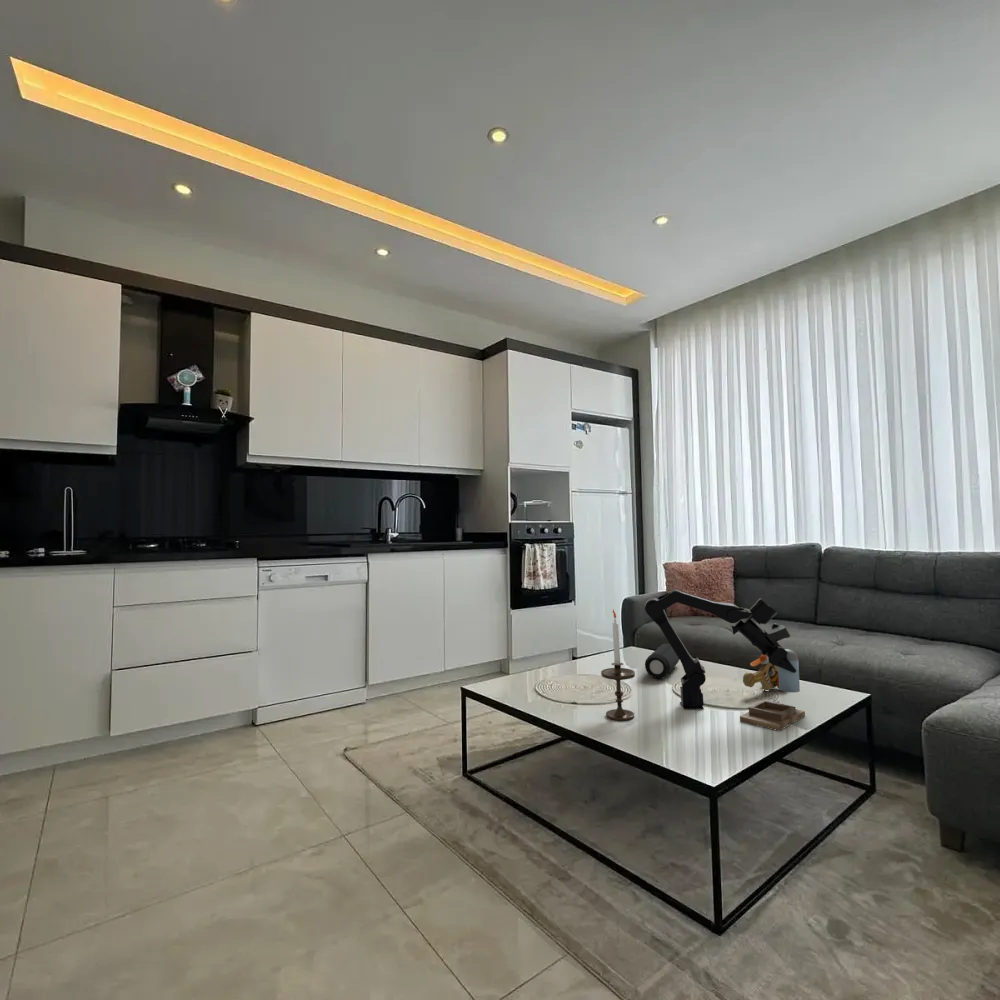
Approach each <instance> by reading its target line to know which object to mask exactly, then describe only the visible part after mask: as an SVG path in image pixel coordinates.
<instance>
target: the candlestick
mask: <svg viewBox="0 0 1000 1000" xmlns="http://www.w3.org/2000/svg"><path fill="white" fill-rule="evenodd" d="M612 613H613V618H614V619H613V622H612V636H613V643H612V644H613V658H614V662H612V663H611V666H614V667H610V668H605V669H602V670H601V671H600V673H601V674H600V676H601V677H602V678H604V679H608V680H615V684H616V685H615V686H616V691H614V695H615V697H616V699H615V702H616V703H617V704H616V705H617V707H616V708H615V709H614V708H613V709H610V710H607V711H606V713H605V715H606V716H605V717H606V719H607V720H611V721H615V722H629V721H631V720H634V719H635V713H634V712H633V711H632V710H628V709H625V708H624V709H623V705H622V703H623V702H624V700H623V699H622V697H623V695H624V692H623V691H622V689H621V688H622V686H621V681H624V680H630V679H631V680H632V679H633V678H634V677H635V675H636V672H635V671H634V670H633V669H631V668H626V667H622V666H624V663H622V662H621V651H620V649H621V647H620V632H619V629H620V628H619V623H618V621H617V614H616V611H615V610H614V608H613V609H612Z"/></svg>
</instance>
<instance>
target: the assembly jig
mask: <svg viewBox="0 0 1000 1000" xmlns="http://www.w3.org/2000/svg"><path fill="white" fill-rule="evenodd" d="M805 712H806V711H805V710H801V709H798V708H796V706H793V705H788V704H783V703H779V702H775V701H770V700H765V699H763V700H761V701H759V702H757V703H755V704H753V705H751V706H748V712H746V713H743V714H741V715H740V716H739V721H740V722H742V723H747V724H750V725H754V726H757V725H758V726H759V727H761V726H763V727H762V728H765V727H769V728H772V729H771V730H773V729H776V730H775V731H777V730H780V731H782V730H783V729H782V728H784V727H785V728H787V727H788V726H787V725H789V724H790V725H792V724H794V723H795V722H797V721H799V720H800V719H799V718H801V717H802V718H804V717H806V713H805ZM803 716H804V717H803ZM802 718H801V719H802ZM798 719H799V720H798ZM796 720H797V721H796ZM794 721H795V722H794ZM793 722H794V723H793ZM791 723H792V724H791ZM790 725H789V726H790ZM786 726H787V727H786ZM769 728H768V729H769ZM785 728H784V729H785ZM781 729H782V730H781Z"/></svg>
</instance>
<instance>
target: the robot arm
mask: <svg viewBox="0 0 1000 1000" xmlns="http://www.w3.org/2000/svg"><path fill="white" fill-rule="evenodd" d="M645 601H646V602H645V603H644V604H645V606H644V609H645V613H646V615H648V616H649V618H650V619H651V620H652V621H653V622H654V623H655V624H656V625H657V626H658V627H659V628H660V631H661V632H662V633H663V635H664V637H665V638H666V640H667V641H668V644H670V645H671V646H672V648H673V650H674V651H675V653H676V655H677V656H678V658H679V662H680V663H681V665H682V669H683V671H684V673H685V674H684V675H682V677H681V678H680V681H681V686H680V687H679V689H680V691H679V692H680V701H679V704H680V705H681V707H682V709H683V710H704V693H703V692H702V689H701V687H702V685H704V684H705V682H706V679H707V678H706V674H705V673H706V670H705V666H704V665H703V664H701V662H700V659H699V657H696V658H694V657H693V656H691V655H690V652H688V649H687V648H686V647H685V645H684V643H683V642H682V640H681V638H680V637H679V635H678V634H677V632H676V630H675V628H674V627H673V625H672V624H671V622H670V621H669V618H668V615H667V614H666V613H667V612H666V611H665V609H667V608H670V607H671V606H672V605H675V604H678V603H679V604H680V605H685V606H687V607H691V608H694V609H697V610H701V611H703V612H707V613H710V614H712V615H714V616H716V617H717V618H720V619H722V620H723V621H726V622H727V623H730V624H731V625H730V628H731V633H732V635H736V634H737V633H738V632H739V633H740V634H741V635H742V636H743V637H744V638H745V639H746V640H748V641H749V643H750V644H752V645H753V647H755V649H757V650H758V651H759V652H760V653H761V655H764V656H766V657H767V660H768V661H769V662H770V663H771V664H772V665H773V666H774V665H775V666H778V667H780V668H783V669H785V670H788V671H790V672H793V673H795V672H796V669H795V668H794V667H793V665H792V664H791V663H790V661H789V660H788V659H787V653H788V652H787V651H786V650H785V648H784V647H783V646H781V644H780V643H779V641H781V640H784V639H787V638H791V634H790V633H789V631H788V629H787V627H786V626H785V625H783V624H780V625H779V624H778V623H776V622H775V623H773V624H771V625H770V627H771V628H770V629H769V630H767V631H766V629H763V628H761V627H760V626H759V625H763V624H764V625H766V624H767V623H768V622H770V621H771V620H772V619H773V618H774V617H775V616H777V614H778V612H777V611H776V610H775V609H774V608H773V607H772V606H770V605H769V604H768V603H766V602H765V601H764V600H762V598H758V599H757V600H756V602H755V603H754V604H753V605H752V606H751V607H750V608H749V609H748V608H746V607H745V608H744V607H739V606H737V605H736V604H734V603H729V602H722V601H720V602H719V601H713V600H709V599H706V598H703V597H700V596H696V595H692V594H691V593H687V592H684V591H680V590H679V589H672V590H671V591H668V592H667V593H664V594H662V595H660V596H658V597H650V598H648V599H647V600H645ZM752 619H753V620H752ZM756 622H757V623H756Z"/></svg>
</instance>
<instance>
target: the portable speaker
mask: <svg viewBox="0 0 1000 1000" xmlns="http://www.w3.org/2000/svg"><path fill="white" fill-rule="evenodd" d="M679 662H680V659H679V658H678V656H677V655H676V653H675V651H674V650H673V648H672V646H671V645H670V643H663V644H661V645H659V646H658V647H657V648H656V649H655V650H654V651H653V652H652V653H651V654H650V655H649V656H648V657H647V658H646V659H645V662H644V668H645V671H646V672H647V674H648V675H649V676H651V677H652V678H654V679H658V680H659V679H660V680H661V679H664V678H666V677H667V676H668V675H669V674H670V672H671V671H673V669H674V668H675V667H676V665H677V664H678V663H679Z"/></svg>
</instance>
